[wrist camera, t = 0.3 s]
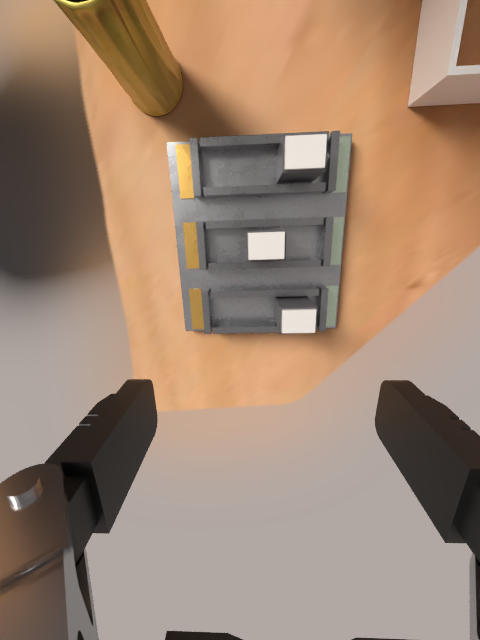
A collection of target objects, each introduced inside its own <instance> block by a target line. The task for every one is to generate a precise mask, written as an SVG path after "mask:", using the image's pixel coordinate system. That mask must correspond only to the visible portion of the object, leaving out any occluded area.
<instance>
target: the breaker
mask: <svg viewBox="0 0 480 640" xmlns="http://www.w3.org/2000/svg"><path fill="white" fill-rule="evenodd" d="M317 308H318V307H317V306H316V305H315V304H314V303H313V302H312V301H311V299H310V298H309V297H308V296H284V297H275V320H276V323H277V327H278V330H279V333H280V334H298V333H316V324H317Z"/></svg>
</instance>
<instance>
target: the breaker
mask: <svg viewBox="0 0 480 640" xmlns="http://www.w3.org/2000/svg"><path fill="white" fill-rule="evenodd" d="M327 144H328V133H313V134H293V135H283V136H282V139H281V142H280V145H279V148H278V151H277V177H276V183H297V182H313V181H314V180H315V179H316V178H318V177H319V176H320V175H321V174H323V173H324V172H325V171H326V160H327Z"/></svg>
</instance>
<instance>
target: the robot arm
mask: <svg viewBox="0 0 480 640" xmlns="http://www.w3.org/2000/svg"><path fill="white" fill-rule="evenodd" d="M375 427H376V431H377V434H378V436H379V438H380V440H381V441H382V443H383V445H384V446H385V448H386V449H387V451H388V453H389V454H390V456H391V457H392V459H393V460H394V462H395V464H396V465H397V467H398V468H399V470H400V472H401V473H402V475H403V476H404V478H405V479H406V481H407V483H408V484H409V486H410V487H411V489H412V491H413V492H414V494H415V495H416V497H417V499H418V500H419V502H420V503H421V505H422V506H423V508H424V510H425V511H426V512H427V514H428V516H429V518H430V519H431V521H432V522H433V524H434V526H435V527H436V529H437V530H438V532H439V533H440V535H441V537H442V538H443V540H444V541H445V543H467V545H468V546H469V548H470V549H471V550H472V552H473V553H472V556H471V558H470V640H480V436H479V435H478V434H477V433H476V432H475V431H474V430H471V429H470V427H469V426H468V425H467V424H465V422H463V421H462V420H459V417H458V416H456V414H454V413H453V412H452V411H451V410H450V409H449V408H448V407H447V406H445V405H444V404H442V403H440V402H438V401H436V400H435V399H433V398H431V397H429V396H426V395H425V394H424V393H423V392H421V391H420V390H419V389H418V388H417V387H416V386H415V385H414V384H413V383H412V382H410V381H408V380H407V381H406V380H402V381H399V380H396V381H395V380H390V381H389V380H385V381H383V382H382V384H381V387H380V393H379V399H378V404H377V410H376V416H375ZM156 428H157V410H156V403H155V396H154V389H153V384H152V381H151V380H149V379H131V380H127V381H126V382H125V383H124V384H123V386H122V387H121V388H120V390H119V391H118V392H117V393H116V394H110V395H109V396H108V397H106V398H104V399H103V400H101V401H100V402H98V403H97V404H96V405H95V406H94V407H93V409H92V410H91V411H90V412H89V413H88V416H86V417H85V418H84V419H83V420H82V421H81V422H80V423H79V426H77V427H76V428H75V429H74V430H73V431H72V432H71V434H70V435H69V436H68V437H67V438H66V439H65V440H64V442H63V443H62V444H61V445H60V446H59V447H58V448H57V449H56V451H55V452H54V453H53V454H52V455H51V456H50V457H49V458H48V460H47V461H46V462H45V463H44V464H38V465H34V466H31V467H28V468H25V469H23V470H21V471H19V472H17V473H16V474H13V475H12V476H10V477H9V478H7V479H6V480H4V481H3V482H2V483H0V640H99V638H98V632H97V625H96V618H95V611H94V604H93V597H92V589H91V582H90V575H89V568H88V560H87V553H86V550H85V547H86V545H87V543H88V540H89V539H90V537H91V535H92V533H109V532H110V530H111V528H112V526H113V524H114V522H115V519H116V517H117V515H118V513H119V511H120V509H121V506H122V504H123V502H124V500H125V498H126V496H127V493H128V491H129V489H130V487H131V485H132V483H133V481H134V478H135V476H136V474H137V472H138V470H139V467H140V465H141V463H142V461H143V459H144V457H145V454H146V452H147V450H148V448H149V446H150V444H151V442H152V440H153V437H154V435H155V432H156ZM165 640H242V639H240V638H238V637H235V636H233V635H230V634H228V633H210V632H182V631H167V633H166V638H165ZM352 640H404V639H377V638H354V639H352Z"/></svg>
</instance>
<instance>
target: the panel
mask: <svg viewBox="0 0 480 640" xmlns="http://www.w3.org/2000/svg"><path fill="white" fill-rule="evenodd" d="M313 133H328V144H327V160H326V171H325V172H324V173H323V174H321V175H320V176H319V177H318V178H316V179H315V180H314V181H313V182H297V183H276V177H277V151H278V148H279V145H280V142H281V139H282V136H283V135H293V134H313ZM351 144H352V133H351V134H340V131H332V132H331V133H330V134H329V131H324V132H304V133H283V134H262V135H242V136H221V137H201V138H200V141H199V140H198V139H197V138H189V141H186V142H167V151H168V160H169V170H170V180H171V190H172V200H173V210H174V220H175V229H176V239H177V249H178V259H179V269H180V279H181V289H182V299H183V308H184V318H185V328H186V331H204V333H205V334H211V332H212V330H213V334H217V333H273V332H279V330H278V327H277V323H276V320H275V297H284V296H308V297H309V298H310V299H311V301H312V302H313V303H314V304H315V305H316V306H317V307H318V308H317V324H316V332H317V330H318V331H319V332H326V328H336V320H337V308H338V296H339V285H340V273H341V261H342V249H343V238H344V226H345V214H346V202H347V191H348V179H349V167H350V155H351ZM285 229H286V260H285V261H251V262H247V259H246V231H255V230H285Z"/></svg>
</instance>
